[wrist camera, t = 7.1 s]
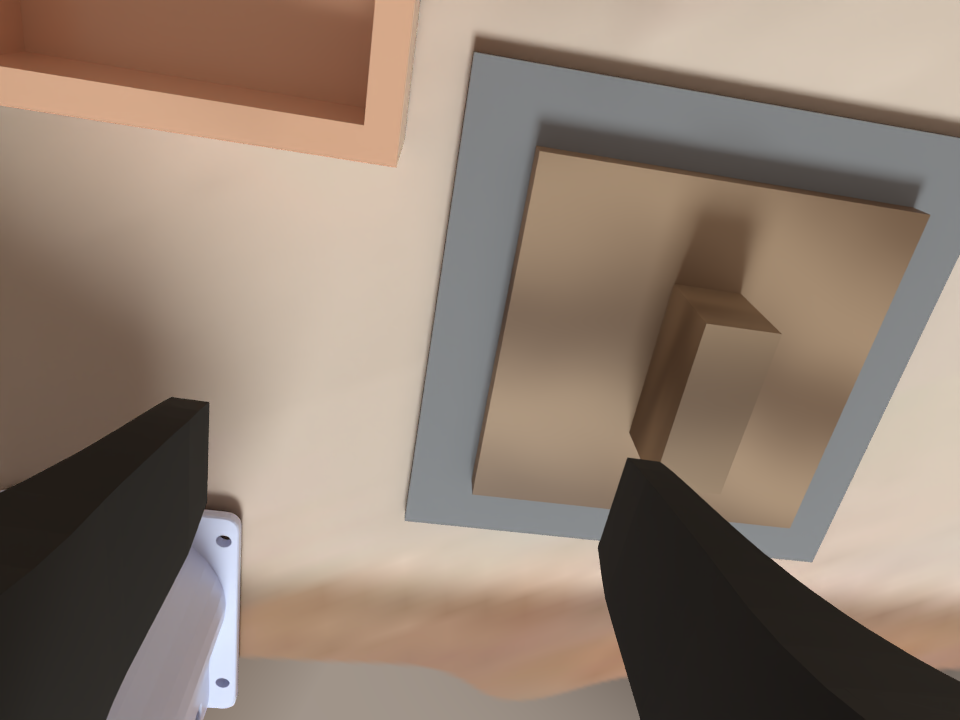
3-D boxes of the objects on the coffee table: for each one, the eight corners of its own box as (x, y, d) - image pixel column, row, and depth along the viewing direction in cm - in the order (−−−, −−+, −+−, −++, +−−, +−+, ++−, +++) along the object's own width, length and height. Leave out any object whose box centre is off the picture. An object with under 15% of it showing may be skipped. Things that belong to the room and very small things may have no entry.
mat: (807, 554, 27) (812, 562, 26) (405, 513, 25) (404, 520, 24) (1000, 144, 20) (1010, 147, 20) (473, 51, 18) (474, 52, 18)
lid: (780, 513, 25) (829, 588, 22) (471, 479, 24) (475, 553, 21) (913, 207, 20) (1001, 245, 17) (536, 145, 19) (554, 174, 16)
